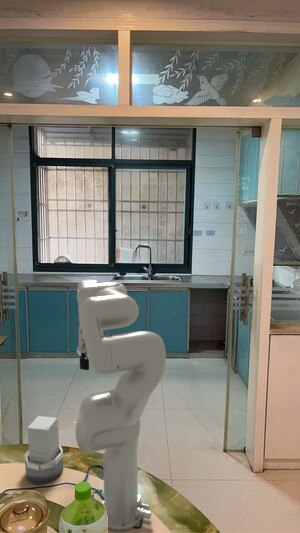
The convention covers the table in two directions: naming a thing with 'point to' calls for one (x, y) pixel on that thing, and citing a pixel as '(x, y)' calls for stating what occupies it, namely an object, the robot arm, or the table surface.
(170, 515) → the table surface
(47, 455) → the supplement box
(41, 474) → the bowl
